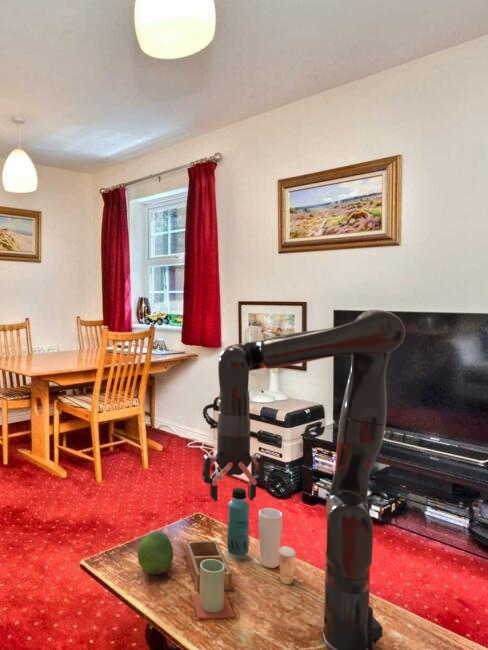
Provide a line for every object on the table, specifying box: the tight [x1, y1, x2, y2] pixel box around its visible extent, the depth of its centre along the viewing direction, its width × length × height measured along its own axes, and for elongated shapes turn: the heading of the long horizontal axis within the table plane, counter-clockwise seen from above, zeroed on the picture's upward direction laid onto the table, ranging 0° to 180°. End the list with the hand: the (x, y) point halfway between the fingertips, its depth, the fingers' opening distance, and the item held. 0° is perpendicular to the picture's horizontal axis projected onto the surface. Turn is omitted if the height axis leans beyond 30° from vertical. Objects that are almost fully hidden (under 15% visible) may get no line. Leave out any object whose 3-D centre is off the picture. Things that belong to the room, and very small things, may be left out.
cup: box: [199, 559, 225, 612], centre depth 122 cm, size 6×6×10 cm
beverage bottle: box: [226, 487, 250, 557], centre depth 146 cm, size 6×7×20 cm
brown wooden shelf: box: [185, 540, 232, 593], centre depth 138 cm, size 9×17×4 cm, turn 5°
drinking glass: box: [257, 507, 284, 569], centre depth 142 cm, size 7×7×15 cm
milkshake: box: [279, 545, 298, 585], centre depth 133 cm, size 4×5×10 cm
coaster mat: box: [190, 592, 236, 620], centre depth 123 cm, size 9×9×1 cm
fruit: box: [137, 531, 174, 575], centre depth 140 cm, size 15×10×10 cm, turn 164°
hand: (232, 499), depth 115 cm, fingers open, 8 cm apart
